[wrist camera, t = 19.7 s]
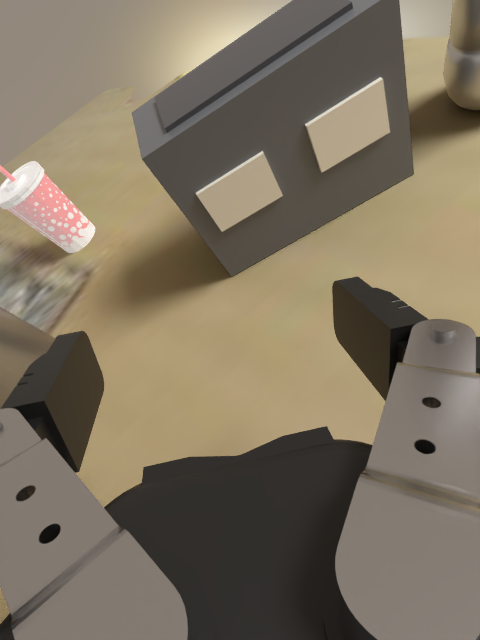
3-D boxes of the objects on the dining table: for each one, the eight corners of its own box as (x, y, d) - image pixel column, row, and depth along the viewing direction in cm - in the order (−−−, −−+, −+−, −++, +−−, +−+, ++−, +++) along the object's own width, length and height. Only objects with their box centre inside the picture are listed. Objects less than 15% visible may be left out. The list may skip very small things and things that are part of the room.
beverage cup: (107, 216, 45) (3, 111, 35) (86, 256, 43) (-34, 156, 32) (75, 222, 49) (-30, 127, 38) (53, 260, 46) (-66, 169, 35)
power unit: (213, 227, 35) (128, 108, 26) (369, 134, 32) (337, -38, 23) (232, 279, 31) (139, 157, 22) (416, 175, 28) (400, -18, 19)
